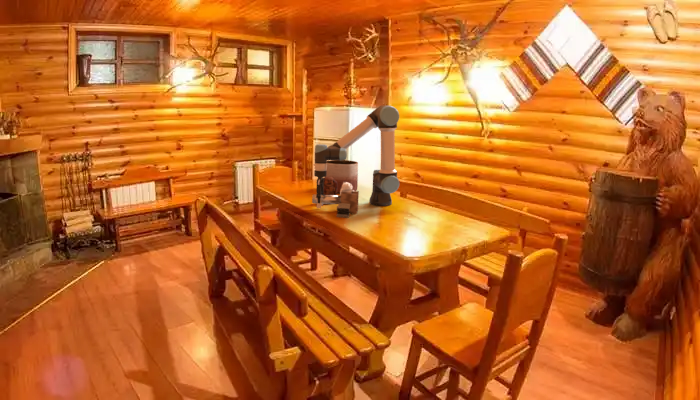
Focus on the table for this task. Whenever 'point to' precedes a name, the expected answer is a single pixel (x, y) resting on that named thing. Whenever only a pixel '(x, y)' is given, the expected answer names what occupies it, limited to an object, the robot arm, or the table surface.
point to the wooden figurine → (330, 186)
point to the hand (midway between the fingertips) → (319, 206)
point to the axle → (328, 199)
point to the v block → (343, 210)
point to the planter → (343, 172)
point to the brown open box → (350, 199)
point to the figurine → (346, 186)
